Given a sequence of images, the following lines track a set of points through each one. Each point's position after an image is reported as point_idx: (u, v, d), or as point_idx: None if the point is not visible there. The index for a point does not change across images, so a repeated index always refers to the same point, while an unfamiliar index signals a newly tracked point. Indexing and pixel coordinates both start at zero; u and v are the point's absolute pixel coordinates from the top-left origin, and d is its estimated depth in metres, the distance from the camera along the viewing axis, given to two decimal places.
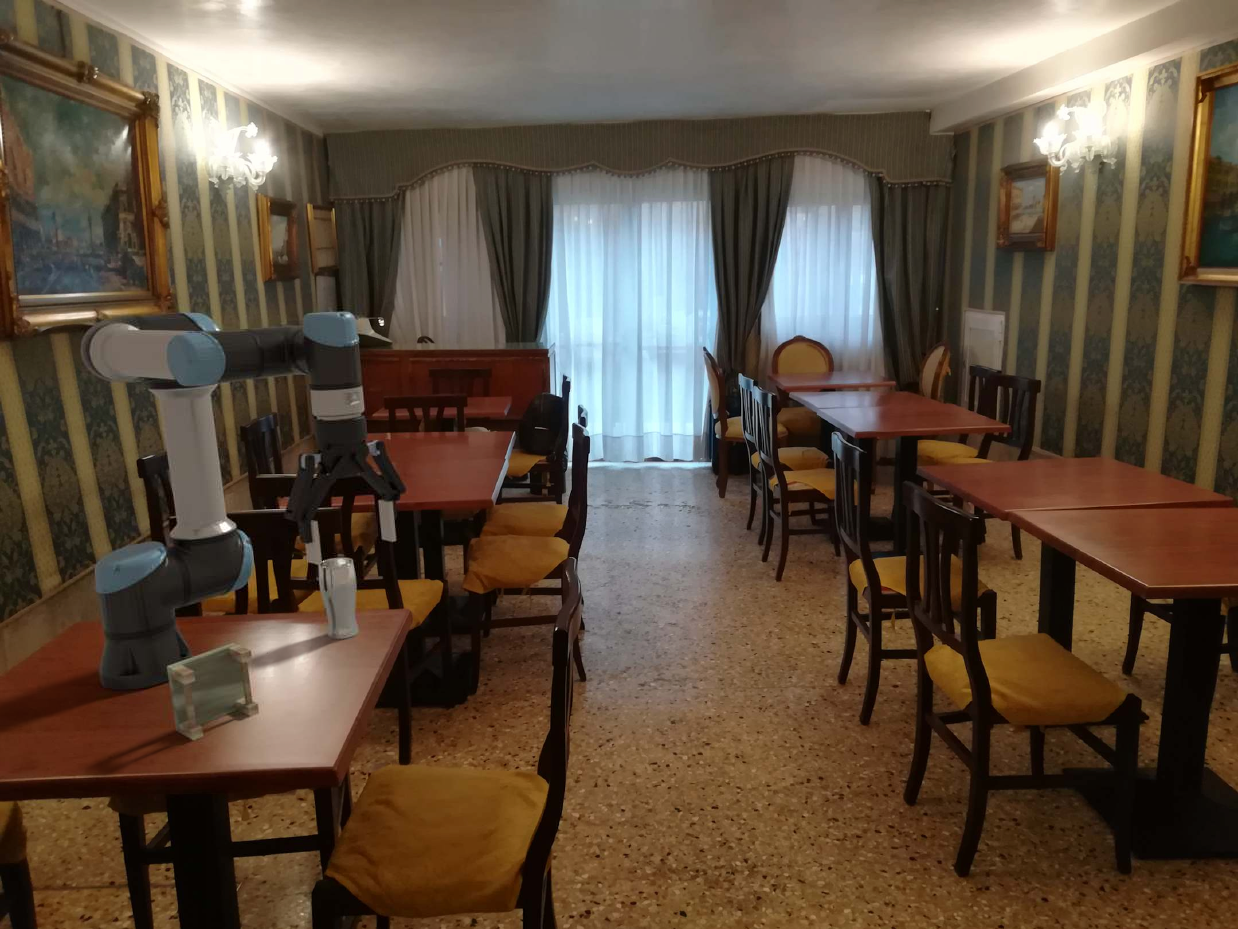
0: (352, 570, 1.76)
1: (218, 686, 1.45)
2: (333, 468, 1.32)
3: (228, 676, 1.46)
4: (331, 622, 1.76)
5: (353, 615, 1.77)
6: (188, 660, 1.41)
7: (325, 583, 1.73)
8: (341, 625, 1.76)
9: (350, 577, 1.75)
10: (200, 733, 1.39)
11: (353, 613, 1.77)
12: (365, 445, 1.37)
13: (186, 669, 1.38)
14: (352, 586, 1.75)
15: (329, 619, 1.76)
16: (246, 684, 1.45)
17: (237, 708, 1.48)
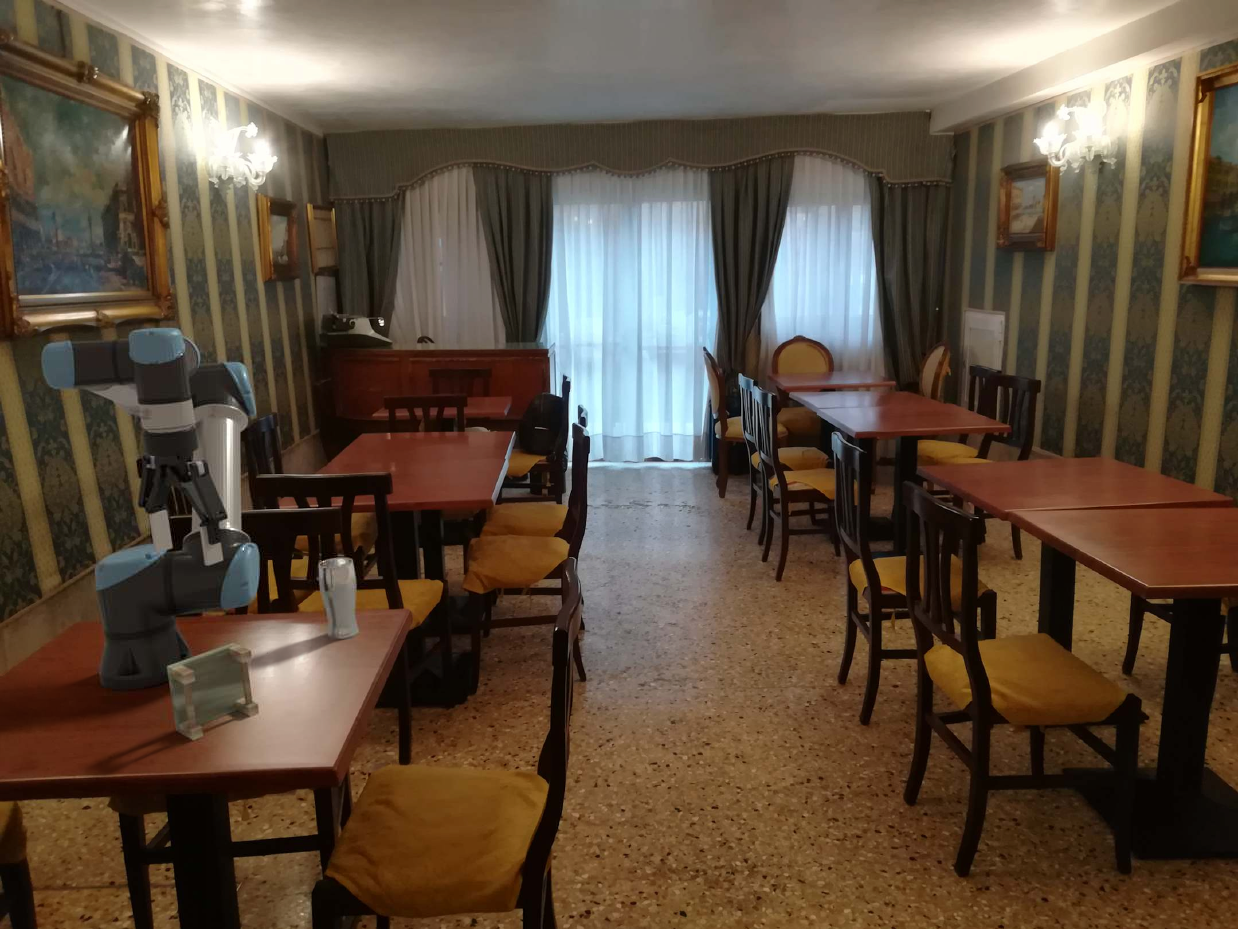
0: (352, 570, 1.76)
1: (218, 686, 1.45)
2: None
3: (228, 676, 1.46)
4: (331, 622, 1.76)
5: (353, 615, 1.77)
6: (188, 660, 1.41)
7: (325, 583, 1.73)
8: (341, 625, 1.76)
9: (350, 577, 1.75)
10: (200, 733, 1.39)
11: (353, 613, 1.77)
12: (180, 462, 1.38)
13: (186, 669, 1.38)
14: (352, 586, 1.75)
15: (329, 619, 1.76)
16: (246, 684, 1.45)
17: (237, 708, 1.48)
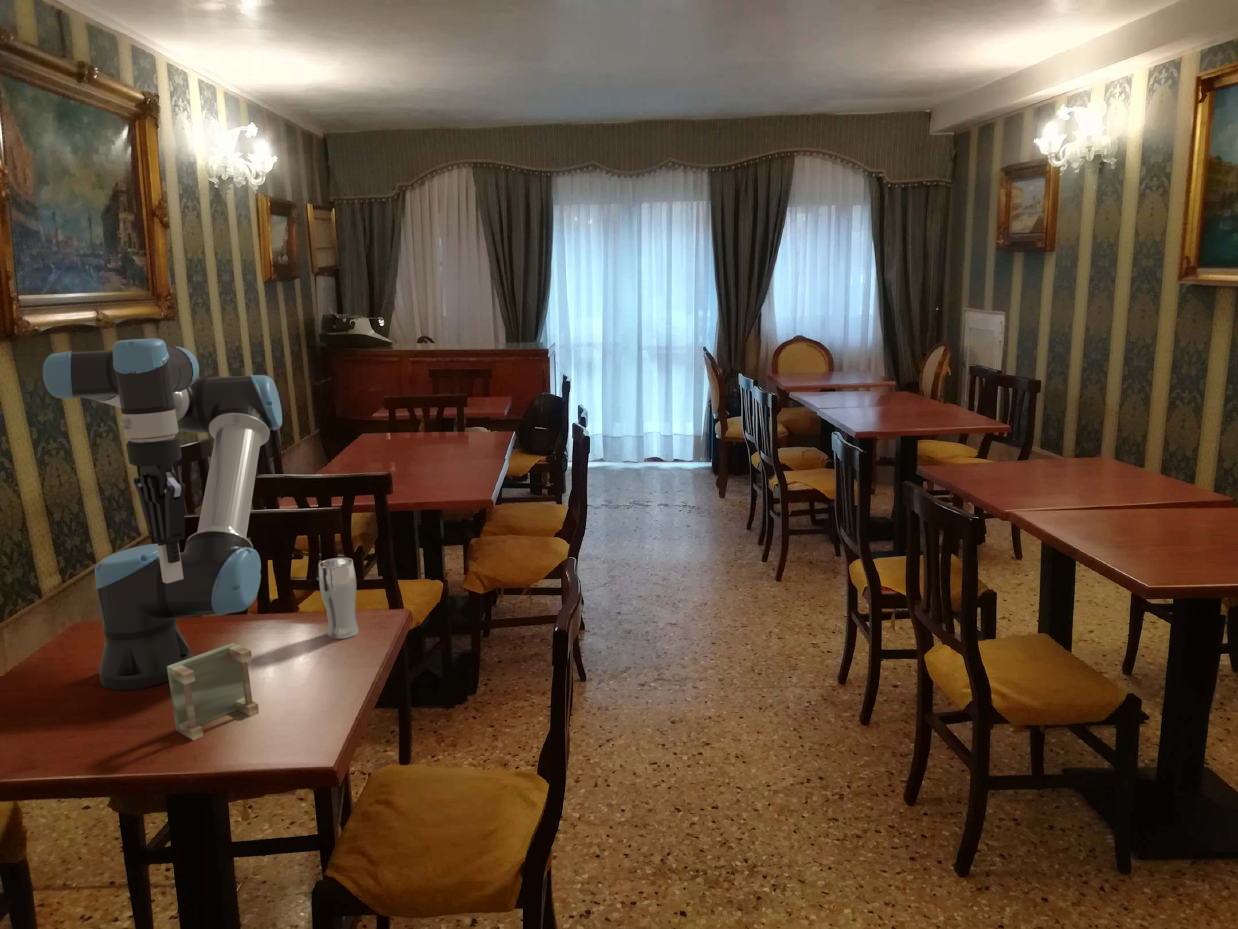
0: (352, 570, 1.76)
1: (218, 686, 1.45)
2: None
3: (228, 676, 1.46)
4: (331, 622, 1.76)
5: (353, 615, 1.77)
6: (188, 660, 1.41)
7: (325, 583, 1.73)
8: (341, 625, 1.76)
9: (350, 577, 1.75)
10: (200, 733, 1.39)
11: (353, 613, 1.77)
12: (161, 474, 1.38)
13: (186, 669, 1.38)
14: (352, 586, 1.75)
15: (329, 619, 1.76)
16: (246, 684, 1.45)
17: (237, 708, 1.48)
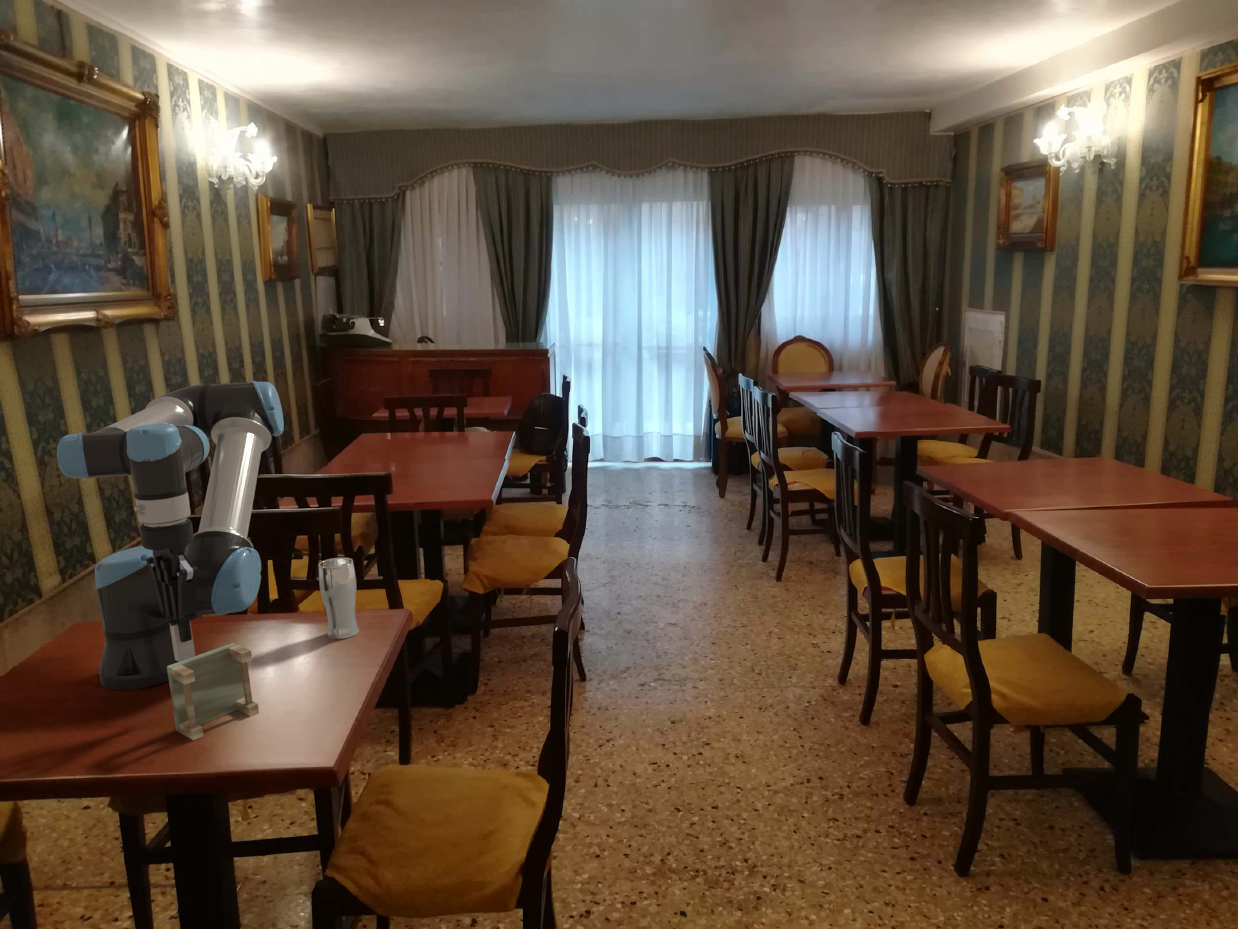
0: (352, 570, 1.76)
1: (218, 686, 1.45)
2: None
3: (228, 676, 1.46)
4: (331, 622, 1.76)
5: (353, 615, 1.77)
6: (188, 660, 1.41)
7: (325, 583, 1.73)
8: (341, 625, 1.76)
9: (350, 577, 1.75)
10: (200, 733, 1.39)
11: (353, 613, 1.77)
12: (173, 558, 1.41)
13: (186, 669, 1.38)
14: (352, 586, 1.75)
15: (329, 619, 1.76)
16: (246, 684, 1.45)
17: (237, 708, 1.48)
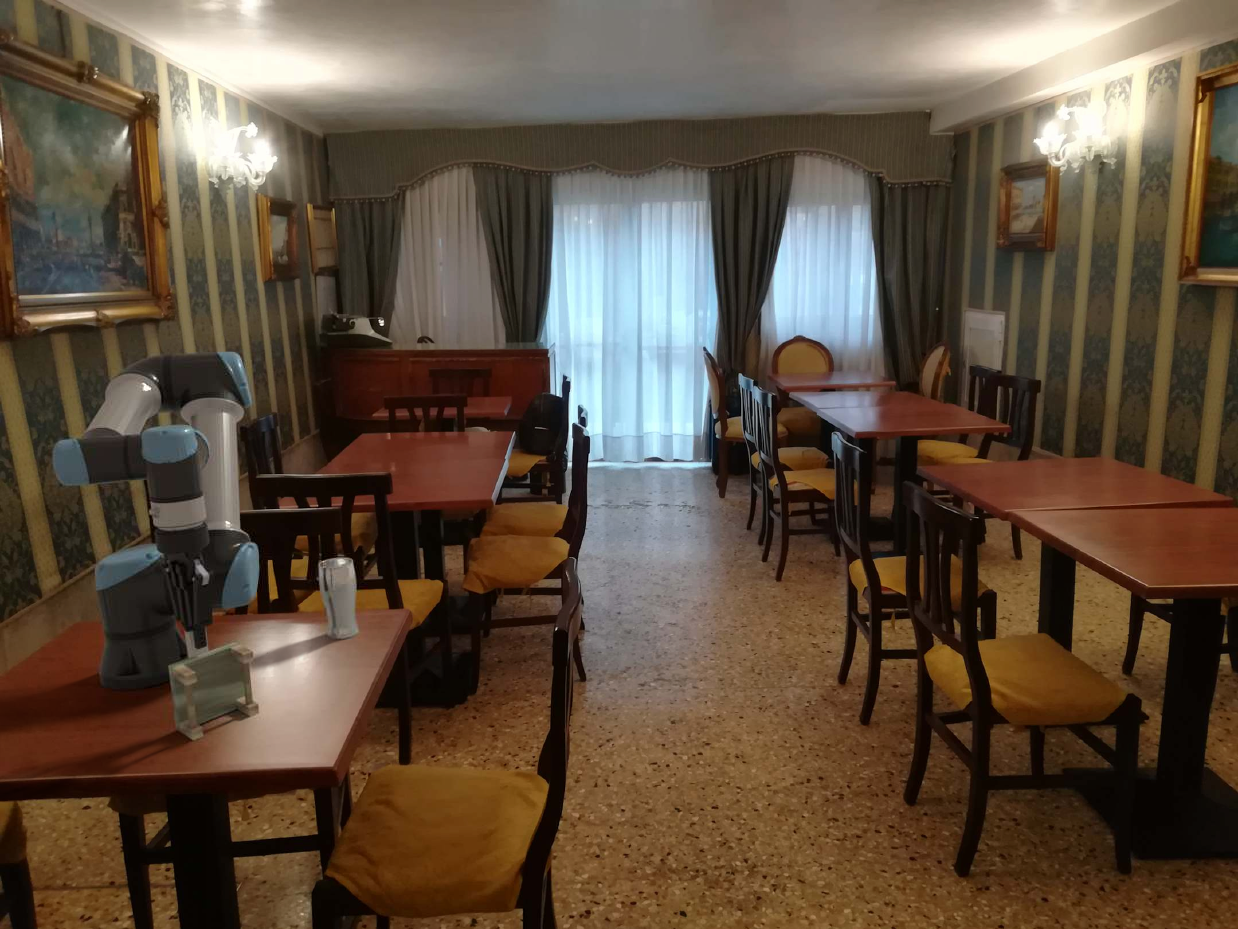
0: (352, 570, 1.76)
1: (219, 685, 1.45)
2: None
3: (229, 675, 1.46)
4: (331, 622, 1.76)
5: (353, 615, 1.77)
6: (190, 660, 1.41)
7: (325, 583, 1.73)
8: (341, 625, 1.76)
9: (350, 577, 1.75)
10: (200, 733, 1.39)
11: (353, 613, 1.77)
12: (189, 562, 1.37)
13: (188, 670, 1.37)
14: (352, 586, 1.75)
15: (329, 619, 1.76)
16: (247, 684, 1.45)
17: (237, 707, 1.48)
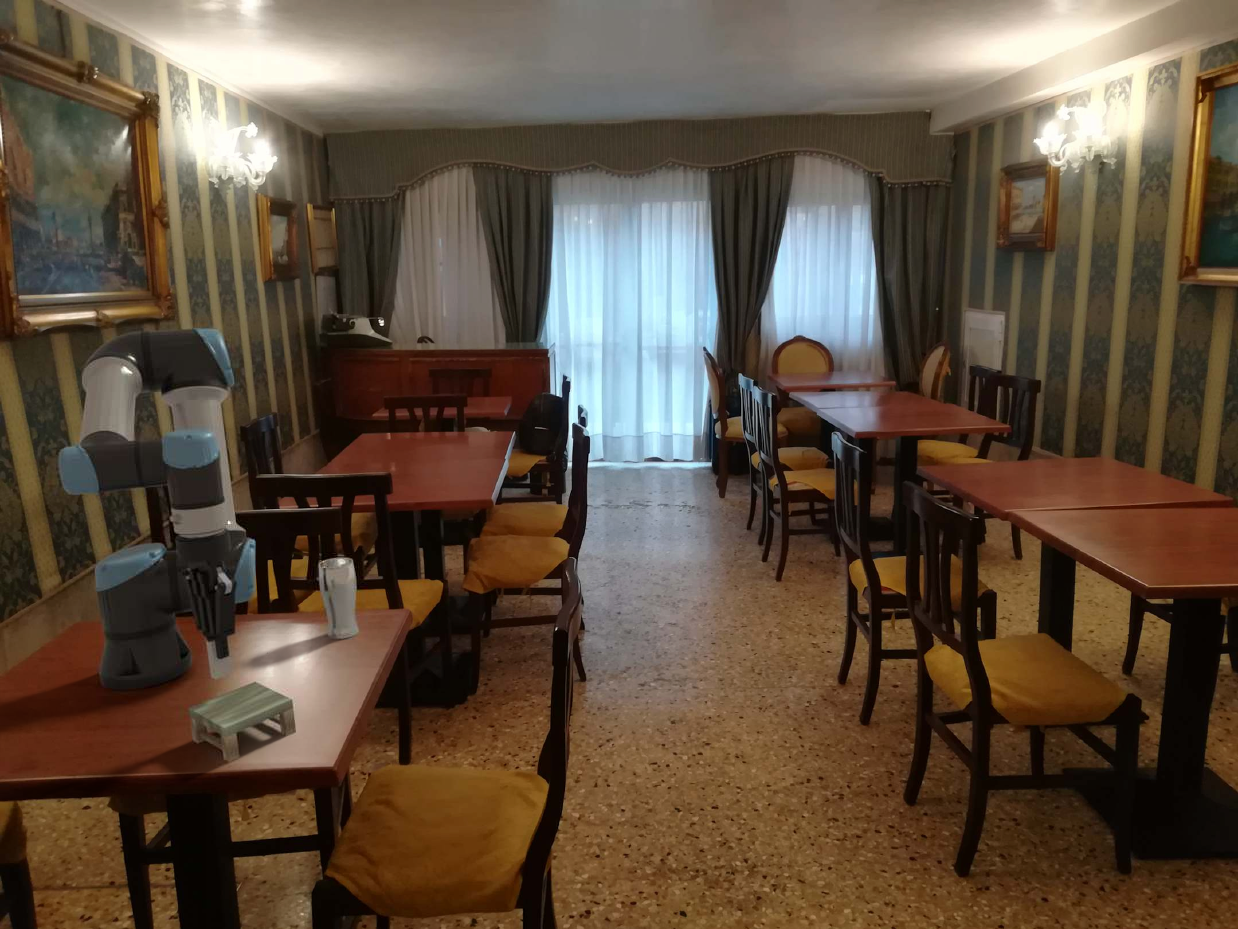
0: (352, 570, 1.76)
1: None
2: None
3: None
4: (331, 622, 1.76)
5: (353, 615, 1.77)
6: (245, 724, 1.33)
7: (325, 583, 1.73)
8: (341, 625, 1.76)
9: (350, 577, 1.75)
10: None
11: (353, 613, 1.77)
12: (211, 570, 1.33)
13: (235, 748, 1.32)
14: (352, 586, 1.75)
15: (329, 619, 1.76)
16: (269, 718, 1.42)
17: None
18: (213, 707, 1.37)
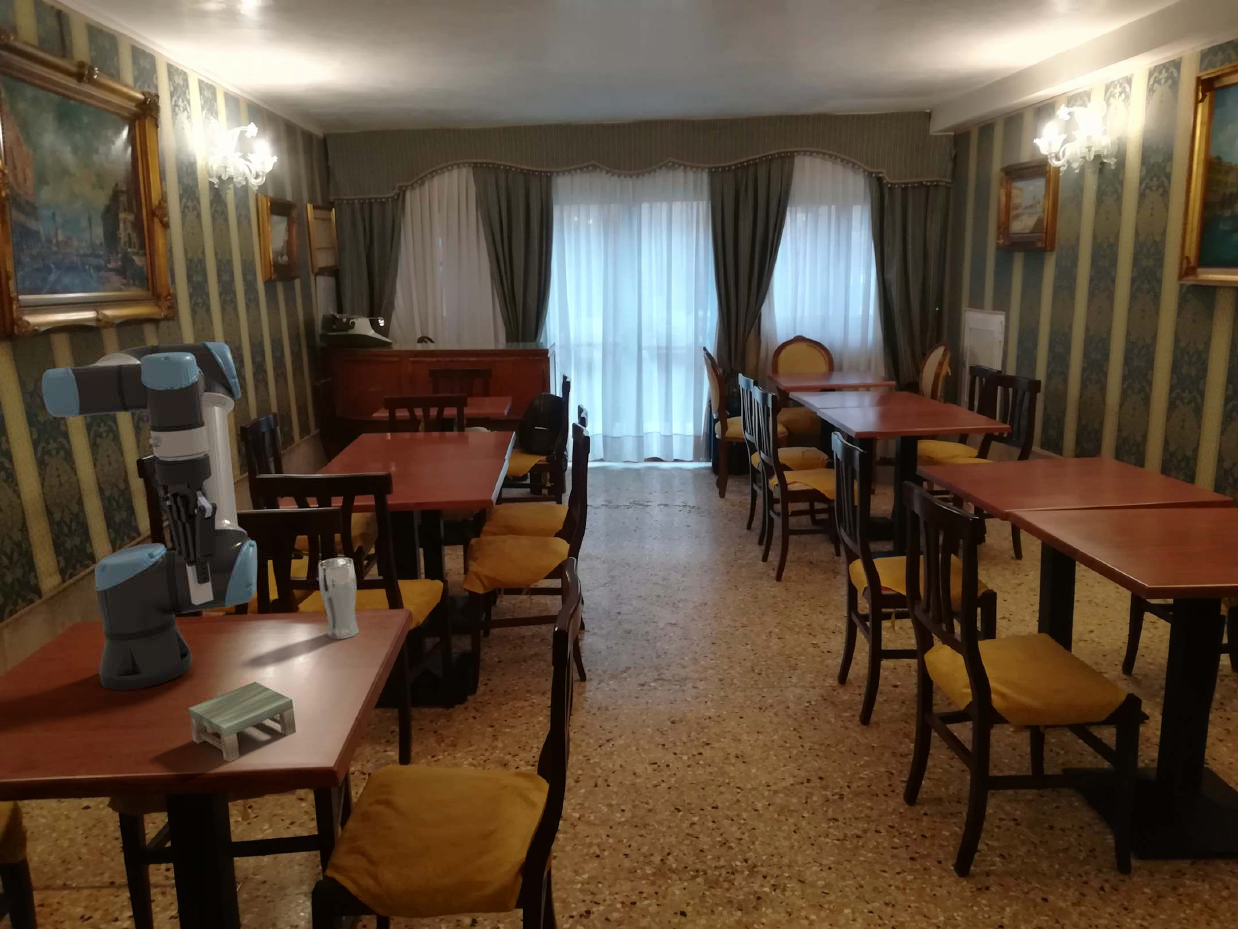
0: (352, 570, 1.76)
1: None
2: None
3: None
4: (331, 622, 1.76)
5: (353, 615, 1.77)
6: (245, 724, 1.33)
7: (325, 583, 1.73)
8: (341, 625, 1.76)
9: (350, 577, 1.75)
10: None
11: (353, 613, 1.77)
12: (191, 494, 1.33)
13: (235, 748, 1.32)
14: (352, 586, 1.75)
15: (329, 619, 1.76)
16: (269, 718, 1.42)
17: None
18: (213, 707, 1.37)
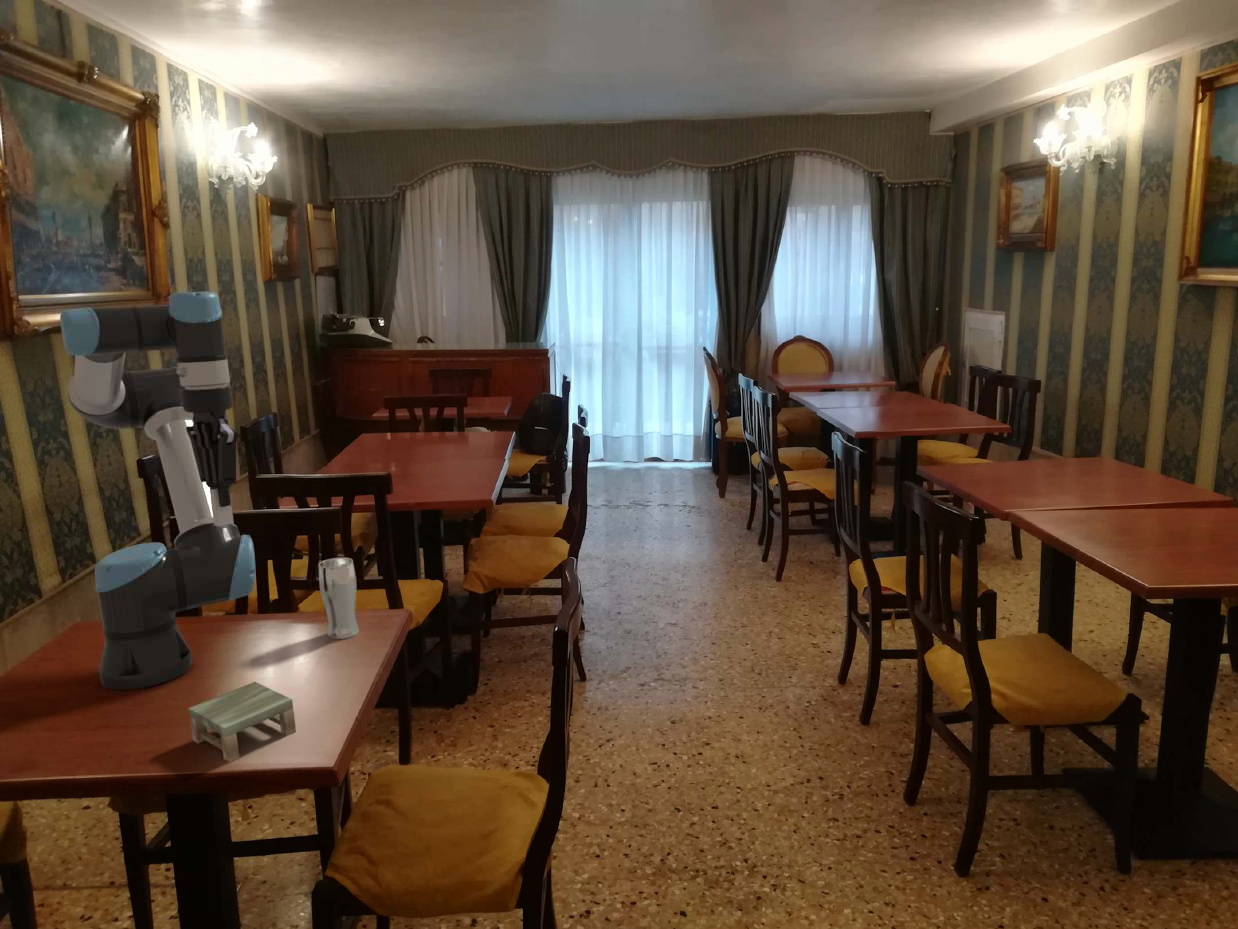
0: (352, 570, 1.76)
1: None
2: None
3: None
4: (331, 622, 1.76)
5: (353, 615, 1.77)
6: (245, 724, 1.33)
7: (325, 583, 1.73)
8: (341, 625, 1.76)
9: (350, 577, 1.75)
10: None
11: (353, 613, 1.77)
12: (214, 421, 1.45)
13: (235, 748, 1.32)
14: (352, 586, 1.75)
15: (329, 619, 1.76)
16: (269, 718, 1.42)
17: None
18: (213, 707, 1.37)
